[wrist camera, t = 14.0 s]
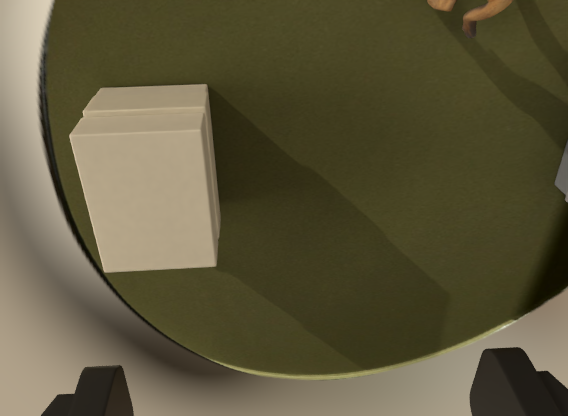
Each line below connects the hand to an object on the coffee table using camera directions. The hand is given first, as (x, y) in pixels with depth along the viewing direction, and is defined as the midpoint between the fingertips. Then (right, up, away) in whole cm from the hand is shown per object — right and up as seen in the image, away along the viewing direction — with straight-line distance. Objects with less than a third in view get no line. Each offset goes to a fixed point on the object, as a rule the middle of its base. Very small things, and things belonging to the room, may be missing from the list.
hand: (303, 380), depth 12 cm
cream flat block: (-7, +5, +16) cm, 18 cm away
